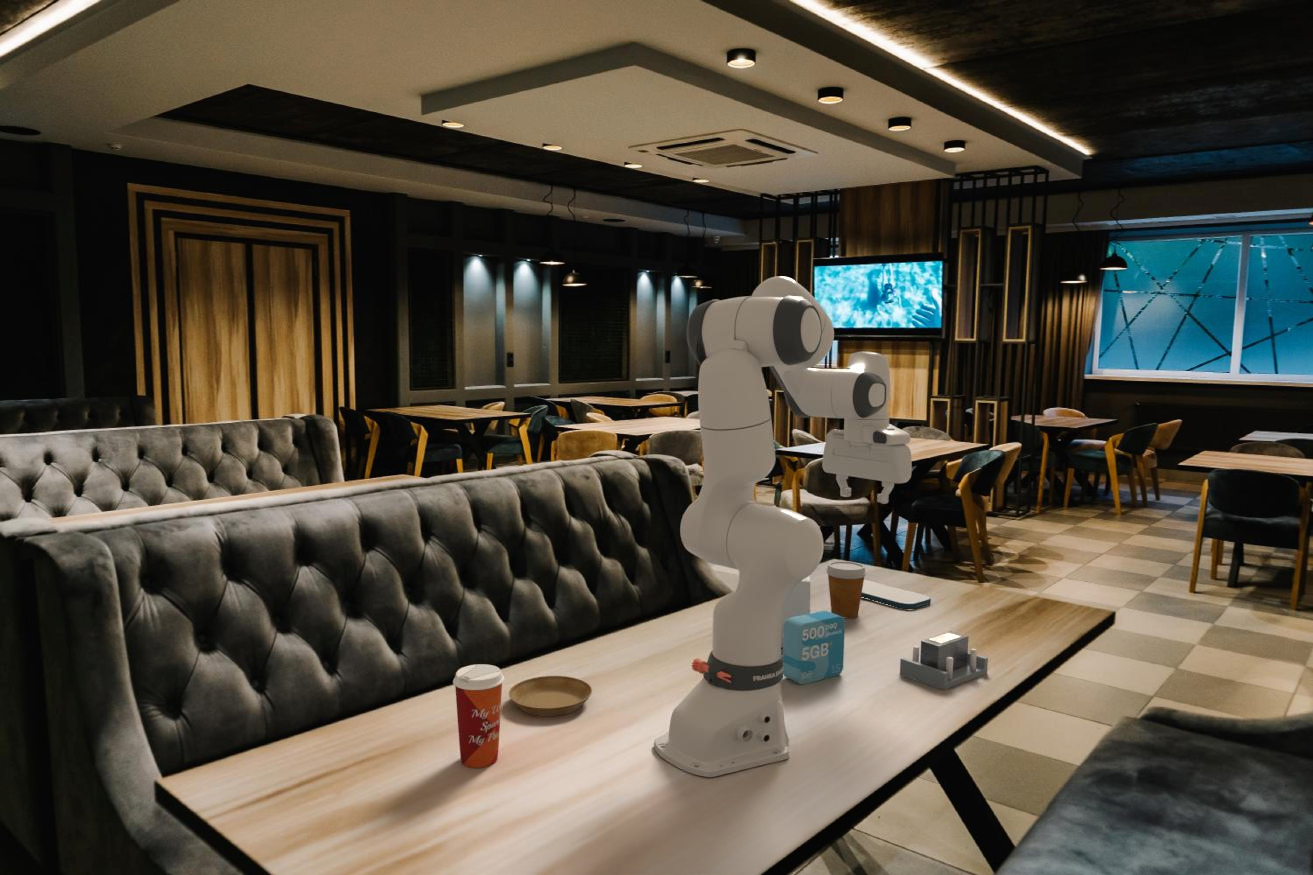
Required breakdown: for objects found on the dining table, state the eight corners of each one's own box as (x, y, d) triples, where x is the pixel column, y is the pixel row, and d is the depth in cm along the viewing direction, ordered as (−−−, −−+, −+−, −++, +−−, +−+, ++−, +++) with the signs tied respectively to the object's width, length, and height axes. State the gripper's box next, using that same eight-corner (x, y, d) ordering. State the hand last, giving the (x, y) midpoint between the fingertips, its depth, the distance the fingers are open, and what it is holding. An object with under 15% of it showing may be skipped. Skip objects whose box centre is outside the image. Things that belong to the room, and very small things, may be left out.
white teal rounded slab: (832, 592, 234) (833, 584, 233) (860, 585, 241) (860, 577, 241) (908, 613, 215) (908, 605, 215) (935, 605, 223) (936, 597, 222)
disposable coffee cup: (868, 620, 208) (870, 570, 207) (828, 619, 208) (830, 570, 207) (860, 608, 217) (861, 561, 216) (821, 607, 217) (823, 560, 216)
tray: (944, 690, 166) (945, 663, 165) (899, 674, 174) (900, 648, 173) (987, 673, 175) (988, 647, 174) (943, 658, 182) (944, 634, 182)
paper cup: (480, 776, 130) (479, 685, 129) (443, 762, 134) (442, 674, 133) (515, 755, 137) (515, 668, 135) (479, 743, 141) (478, 659, 139)
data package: (797, 686, 167) (799, 624, 166) (781, 678, 171) (783, 618, 169) (843, 674, 173) (845, 615, 172) (827, 667, 177) (829, 609, 176)
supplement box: (809, 636, 196) (811, 570, 194) (809, 650, 187) (811, 581, 185) (768, 633, 197) (769, 568, 196) (766, 647, 188) (767, 578, 187)
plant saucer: (546, 729, 147) (546, 714, 147) (491, 705, 157) (491, 690, 156) (609, 704, 158) (609, 690, 158) (554, 682, 168) (554, 669, 167)
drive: (937, 676, 169) (938, 645, 169) (919, 670, 172) (921, 639, 172) (967, 665, 175) (968, 635, 175) (949, 659, 179) (950, 630, 178)
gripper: (816, 429, 185) (814, 494, 186) (897, 437, 169) (895, 508, 170) (836, 427, 189) (834, 491, 190) (917, 435, 173) (914, 505, 174)
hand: (863, 499), depth 180 cm, fingers open, 8 cm apart
